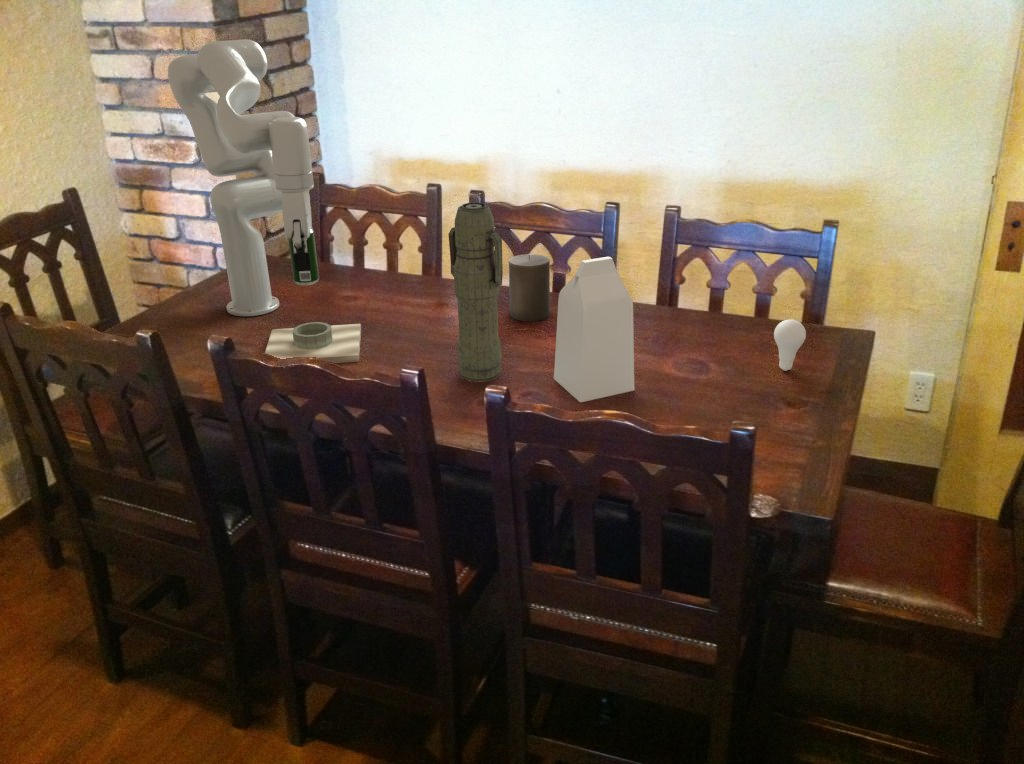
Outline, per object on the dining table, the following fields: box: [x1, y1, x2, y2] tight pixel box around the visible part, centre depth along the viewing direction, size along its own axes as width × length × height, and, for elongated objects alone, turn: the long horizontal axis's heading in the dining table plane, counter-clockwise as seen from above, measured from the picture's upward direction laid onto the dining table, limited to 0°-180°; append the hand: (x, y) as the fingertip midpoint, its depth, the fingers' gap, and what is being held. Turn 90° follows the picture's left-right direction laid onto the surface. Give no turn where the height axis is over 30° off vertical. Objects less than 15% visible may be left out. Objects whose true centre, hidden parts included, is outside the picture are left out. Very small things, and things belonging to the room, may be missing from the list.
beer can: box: [288, 225, 320, 286], centre depth 182 cm, size 5×5×12 cm
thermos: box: [448, 202, 504, 383], centre depth 170 cm, size 9×12×35 cm
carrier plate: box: [264, 321, 362, 364], centre depth 190 cm, size 18×20×4 cm
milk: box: [553, 256, 635, 403], centre depth 167 cm, size 12×12×26 cm
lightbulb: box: [773, 318, 807, 372], centre depth 174 cm, size 6×6×11 cm
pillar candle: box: [508, 253, 551, 322], centre depth 204 cm, size 10×10×15 cm
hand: (304, 265), depth 183 cm, fingers closed on beer can, 5 cm apart
